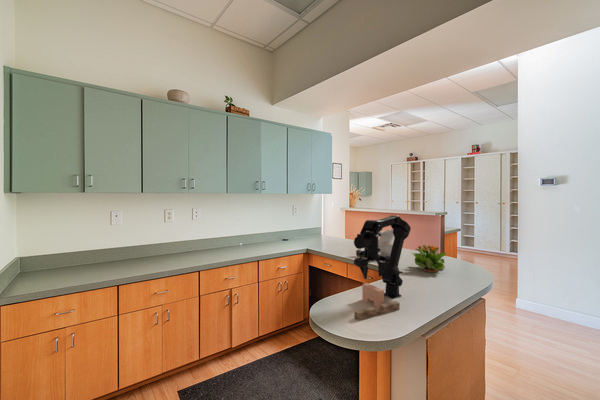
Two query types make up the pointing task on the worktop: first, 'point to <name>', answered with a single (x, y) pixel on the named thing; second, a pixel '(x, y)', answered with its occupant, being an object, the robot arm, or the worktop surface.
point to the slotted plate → (372, 294)
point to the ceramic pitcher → (386, 242)
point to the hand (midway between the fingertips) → (372, 277)
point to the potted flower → (429, 259)
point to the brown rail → (376, 310)
